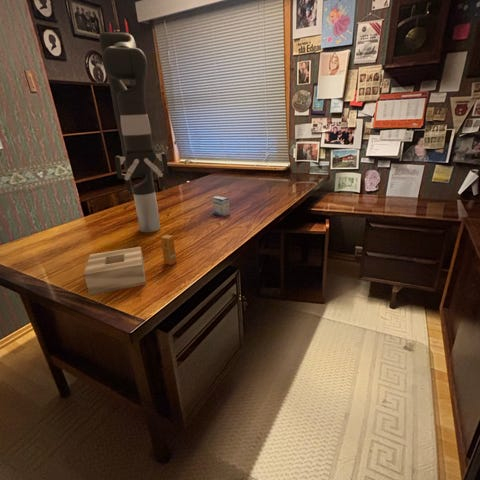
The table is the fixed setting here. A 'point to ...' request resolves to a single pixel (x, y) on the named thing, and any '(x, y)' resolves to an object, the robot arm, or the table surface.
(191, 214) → the table surface
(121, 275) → the bore block
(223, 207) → the medicine box
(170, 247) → the supplement box
